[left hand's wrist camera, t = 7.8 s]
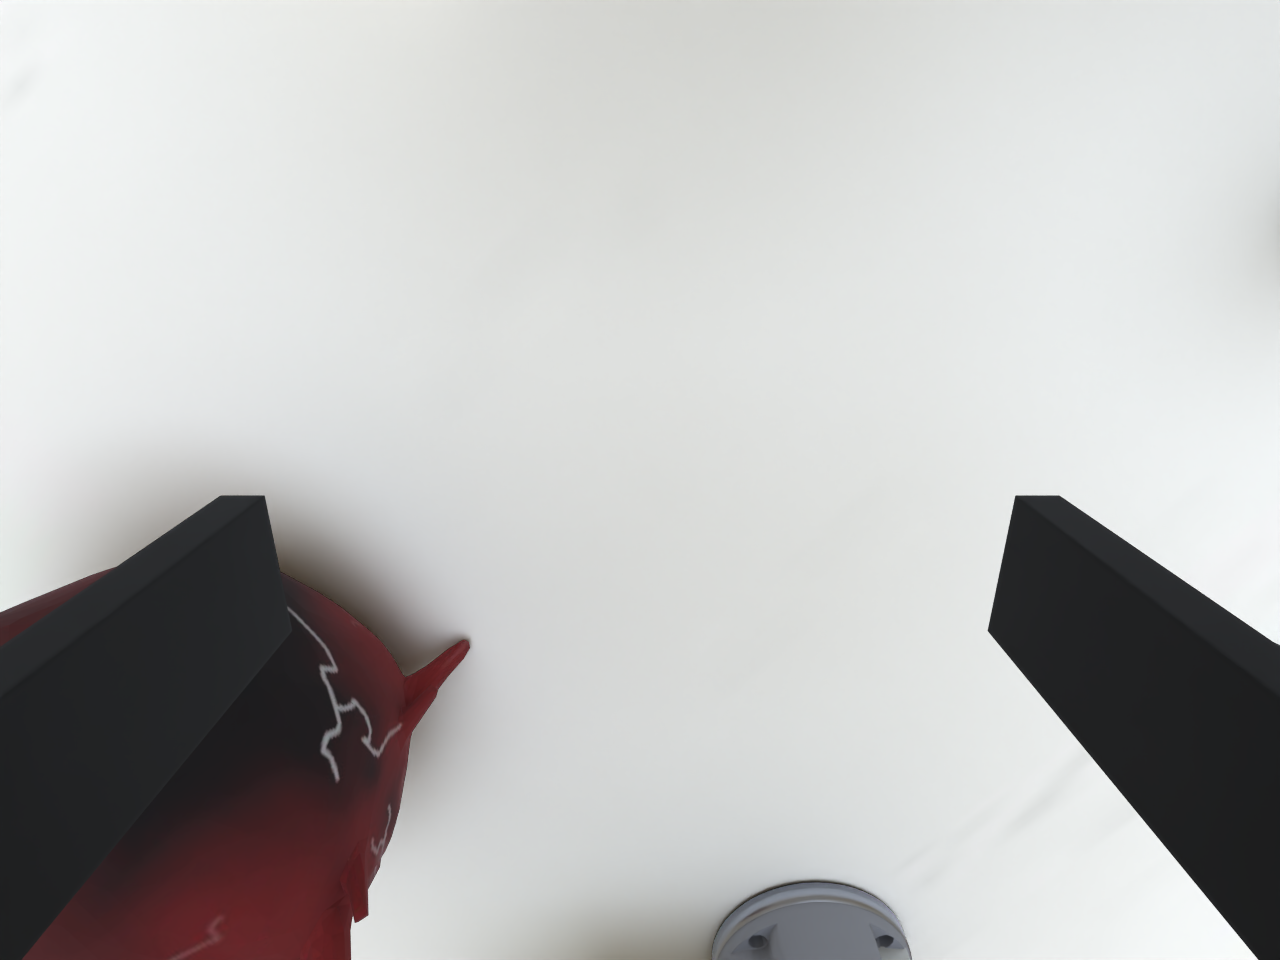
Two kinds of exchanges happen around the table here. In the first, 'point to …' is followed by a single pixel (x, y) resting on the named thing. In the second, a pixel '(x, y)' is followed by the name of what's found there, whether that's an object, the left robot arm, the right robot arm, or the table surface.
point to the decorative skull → (261, 805)
